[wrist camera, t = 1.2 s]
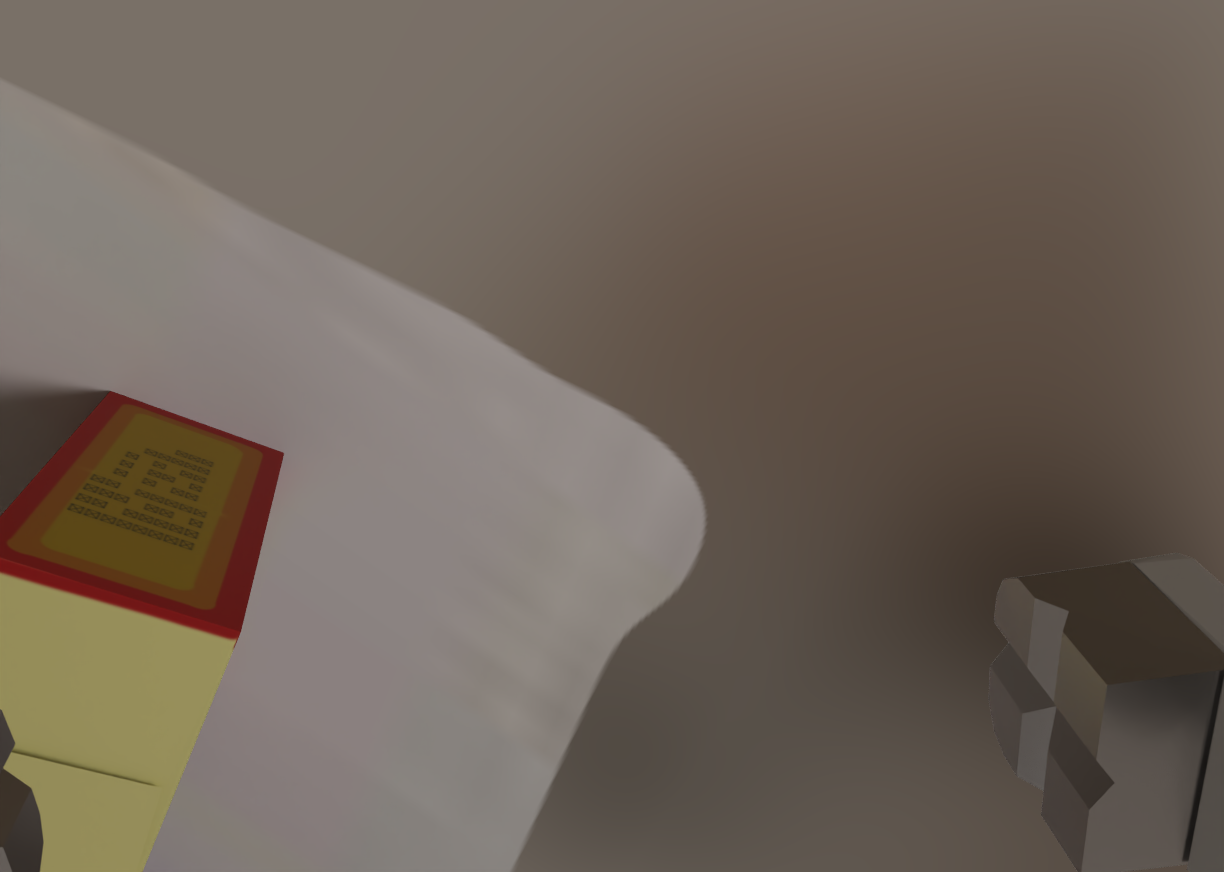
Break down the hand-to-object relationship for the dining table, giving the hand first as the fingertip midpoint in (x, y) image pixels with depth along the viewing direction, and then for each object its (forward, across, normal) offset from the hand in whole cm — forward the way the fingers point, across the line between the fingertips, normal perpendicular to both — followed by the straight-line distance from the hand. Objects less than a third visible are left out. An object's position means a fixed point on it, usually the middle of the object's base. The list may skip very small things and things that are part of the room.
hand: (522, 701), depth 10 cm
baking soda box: (+33, -14, -15) cm, 39 cm away
